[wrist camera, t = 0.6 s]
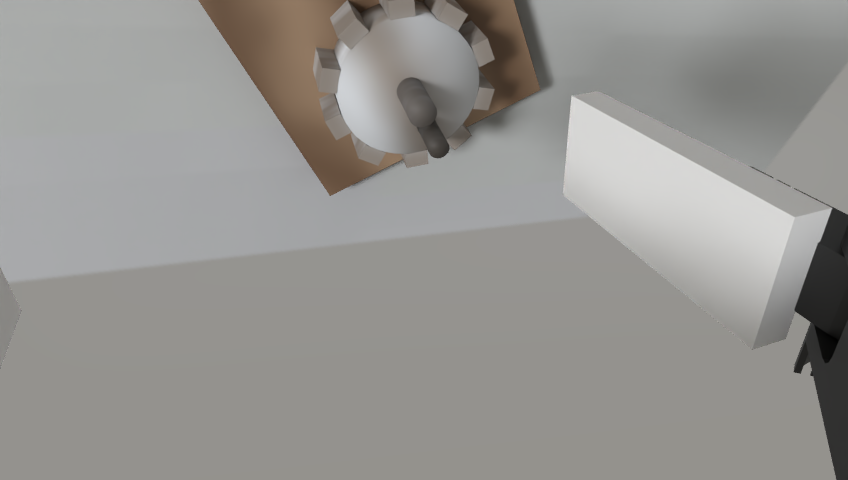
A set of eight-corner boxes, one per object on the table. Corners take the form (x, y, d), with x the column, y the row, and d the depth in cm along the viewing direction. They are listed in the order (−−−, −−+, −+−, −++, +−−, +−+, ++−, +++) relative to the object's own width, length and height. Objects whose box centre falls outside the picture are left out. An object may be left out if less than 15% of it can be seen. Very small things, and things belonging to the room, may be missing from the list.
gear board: (406, -323, 28) (456, -342, 22) (529, 77, 42) (579, 132, 36) (105, -154, 29) (73, -127, 23) (326, 180, 43) (342, 250, 37)
